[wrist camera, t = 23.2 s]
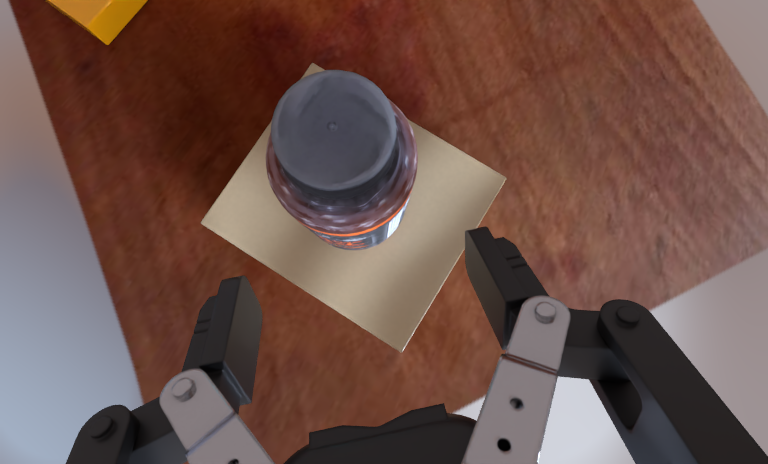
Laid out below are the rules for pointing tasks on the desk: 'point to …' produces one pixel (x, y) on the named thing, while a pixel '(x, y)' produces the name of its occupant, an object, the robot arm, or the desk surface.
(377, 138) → the supplement bottle
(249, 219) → the stand
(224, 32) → the desk surface
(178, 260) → the desk surface
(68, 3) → the orange block
